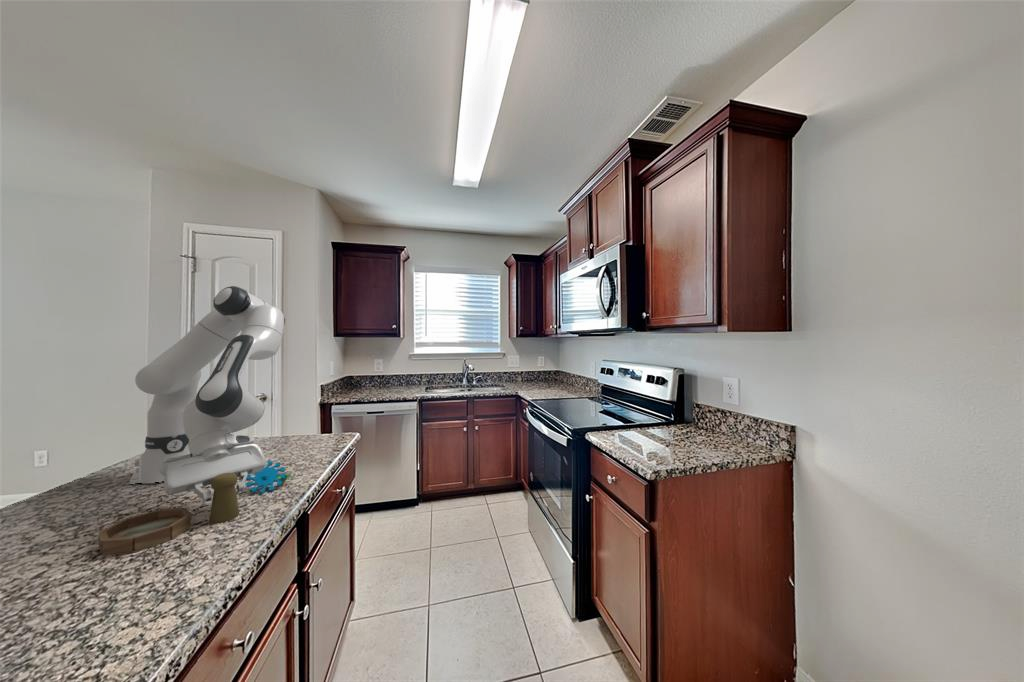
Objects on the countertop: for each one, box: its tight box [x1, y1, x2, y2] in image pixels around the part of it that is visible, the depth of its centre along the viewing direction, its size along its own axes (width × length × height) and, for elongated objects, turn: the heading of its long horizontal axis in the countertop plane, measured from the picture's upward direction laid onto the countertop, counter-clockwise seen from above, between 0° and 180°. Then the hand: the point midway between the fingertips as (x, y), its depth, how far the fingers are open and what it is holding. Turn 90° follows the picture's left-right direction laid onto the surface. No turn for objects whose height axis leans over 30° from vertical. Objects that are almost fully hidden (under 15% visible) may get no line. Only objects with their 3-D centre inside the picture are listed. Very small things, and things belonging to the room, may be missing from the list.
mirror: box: [98, 507, 192, 556], centre depth 79 cm, size 14×14×3 cm
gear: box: [245, 460, 291, 494], centre depth 105 cm, size 11×6×10 cm
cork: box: [208, 473, 240, 525], centre depth 87 cm, size 6×6×11 cm
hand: (225, 495), depth 86 cm, fingers open, 5 cm apart
